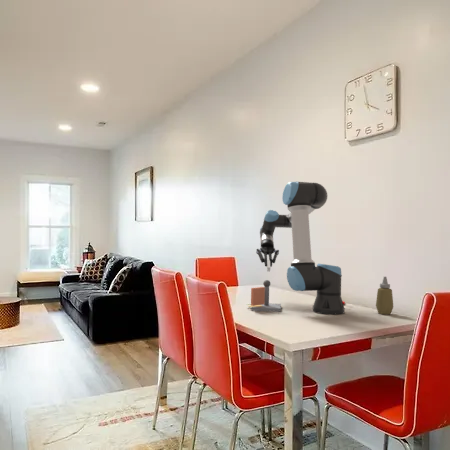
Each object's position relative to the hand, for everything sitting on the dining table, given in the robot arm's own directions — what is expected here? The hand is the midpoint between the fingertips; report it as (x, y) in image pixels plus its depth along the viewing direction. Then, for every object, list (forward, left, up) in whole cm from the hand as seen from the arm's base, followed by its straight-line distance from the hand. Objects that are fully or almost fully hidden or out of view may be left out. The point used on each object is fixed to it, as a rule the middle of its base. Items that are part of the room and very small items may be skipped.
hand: (268, 269), depth 228 cm
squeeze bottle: (-38, -44, -19) cm, 61 cm away
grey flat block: (-9, +7, -19) cm, 22 cm away
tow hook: (-6, -40, -19) cm, 45 cm away
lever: (-11, +10, -17) cm, 23 cm away
